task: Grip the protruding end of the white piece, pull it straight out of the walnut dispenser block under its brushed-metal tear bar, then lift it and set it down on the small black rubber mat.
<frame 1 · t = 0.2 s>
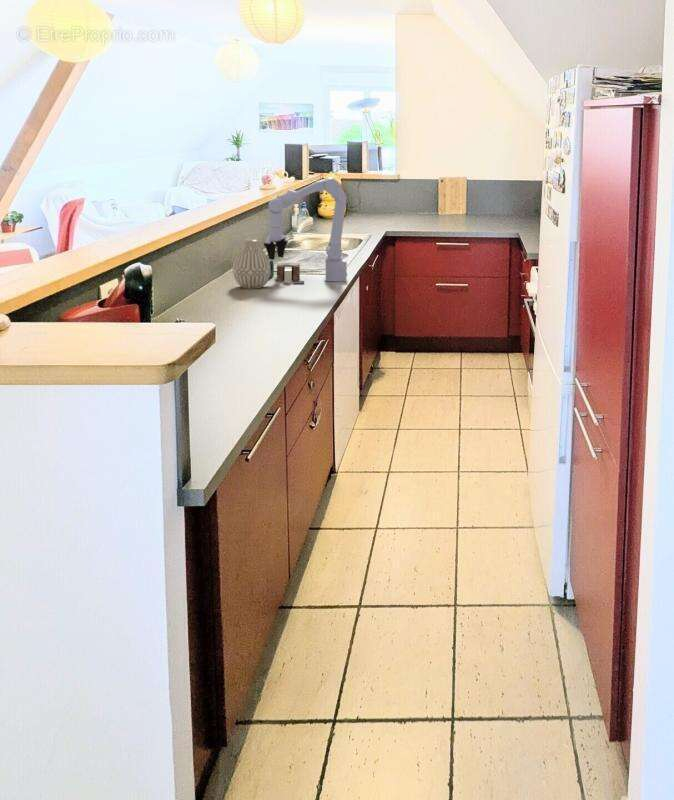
hand: (276, 258, 430), 10 cm above the worktop, fingers open, 7 cm apart
mat: (298, 283, 427), on the worktop
bracket: (260, 279, 436), on the worktop
white piece: (288, 280, 433), on the worktop
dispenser: (288, 278, 438), on the worktop
vase: (252, 287, 416), on the worktop
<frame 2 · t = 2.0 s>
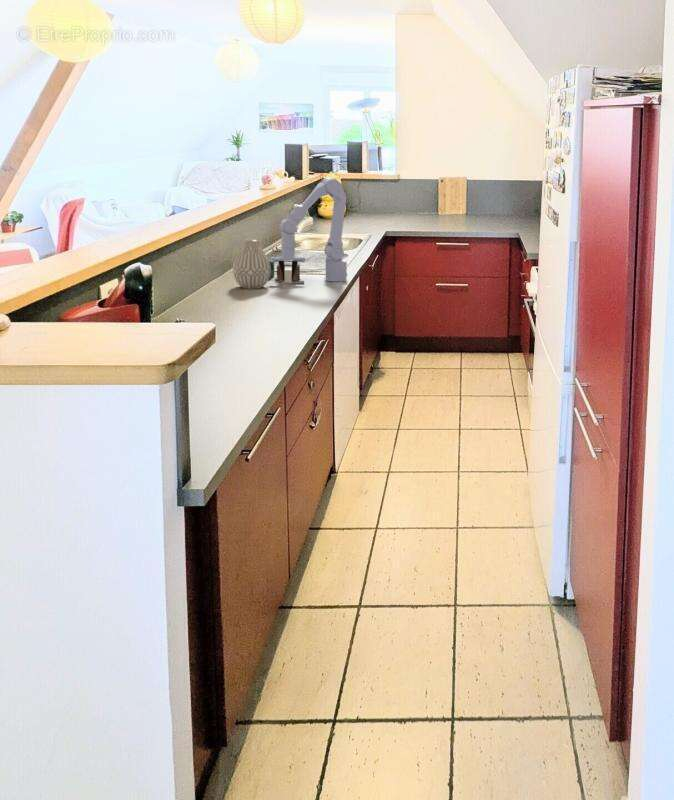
hand: (288, 278, 429), 1 cm above the worktop, fingers closed on white piece, 3 cm apart
white piece: (288, 280, 433), on the worktop, touching gripper
everything else where it was.
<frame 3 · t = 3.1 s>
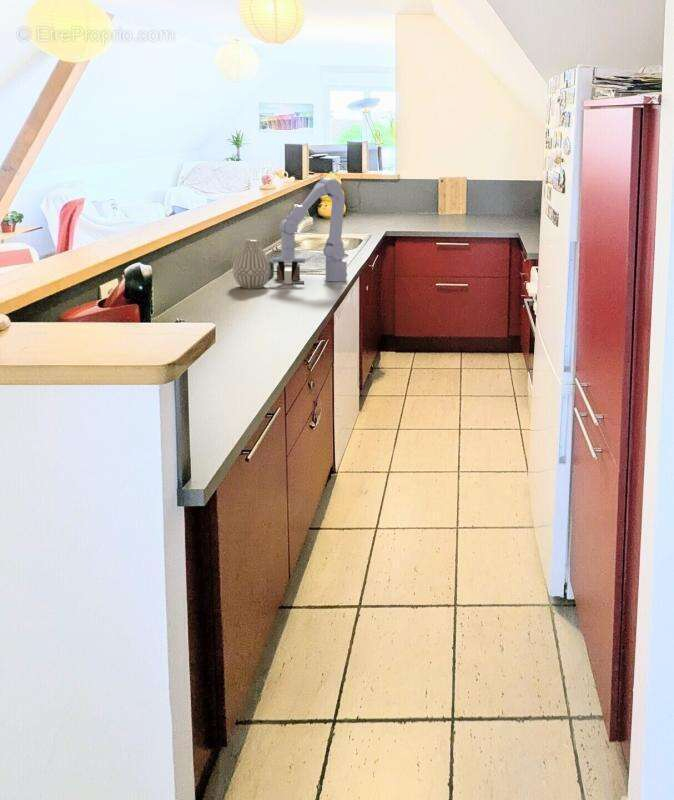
hand: (288, 279, 426), 2 cm above the worktop, fingers closed on white piece, 3 cm apart
white piece: (288, 281, 430), on the worktop, touching gripper
everything else where it was.
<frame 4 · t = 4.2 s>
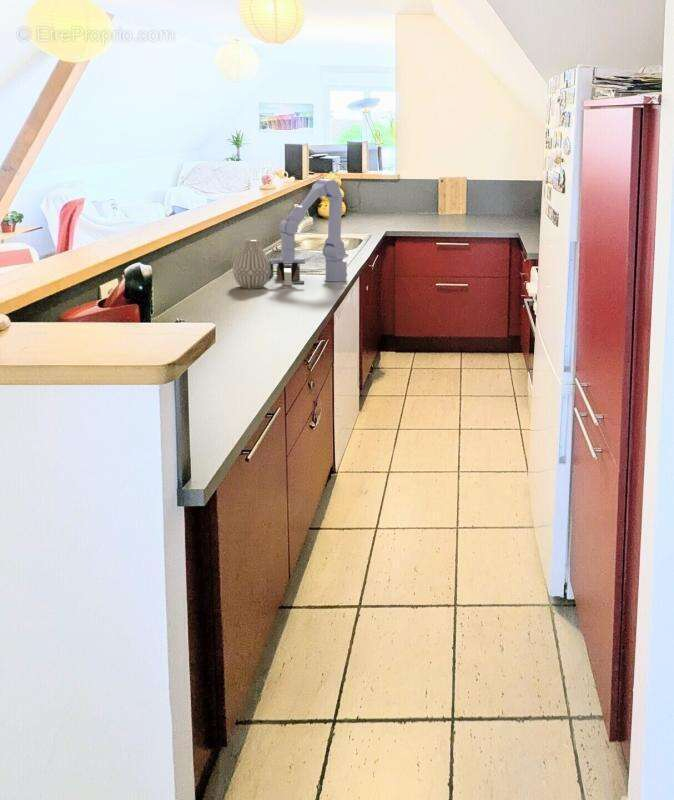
hand: (287, 280, 422), 2 cm above the worktop, fingers closed on white piece, 3 cm apart
white piece: (287, 283, 426), on the worktop, touching gripper
everything else where it was.
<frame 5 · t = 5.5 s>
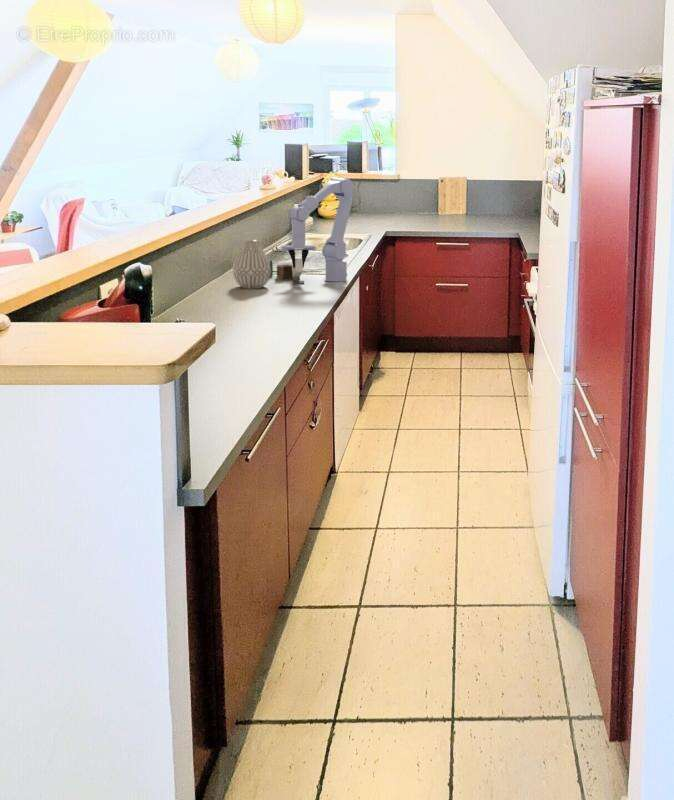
hand: (298, 267, 421), 7 cm above the worktop, fingers closed on white piece, 3 cm apart
white piece: (297, 274, 425), point 4 cm above the worktop, tilted 21°, touching gripper
everything else where it was.
when the fingers open (3 cm above the worktop, at t = 6.5 s): white piece stays where it is, resting on mat.
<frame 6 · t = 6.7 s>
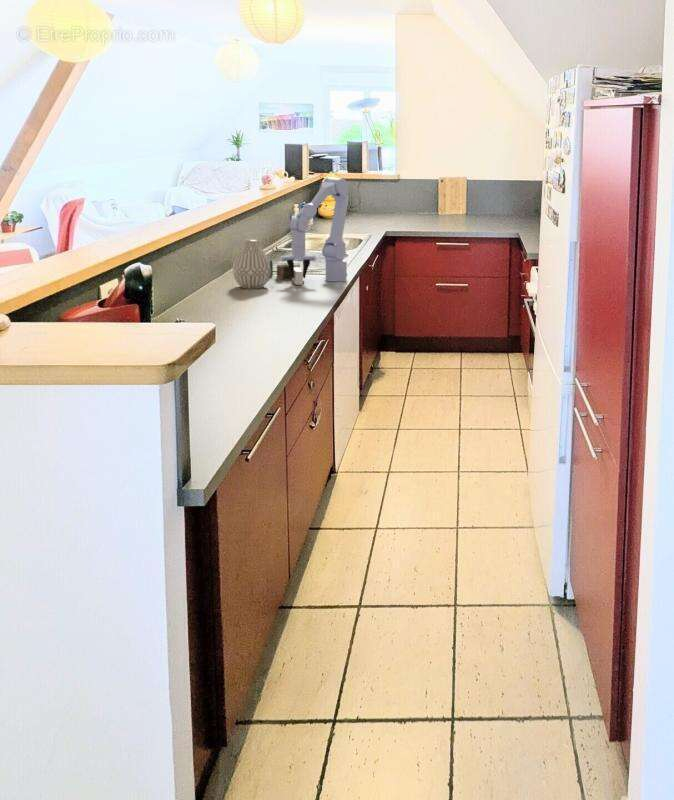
hand: (298, 277, 423), 3 cm above the worktop, fingers open, 4 cm apart
white piece: (297, 282, 426), resting on mat
everything else where it was.
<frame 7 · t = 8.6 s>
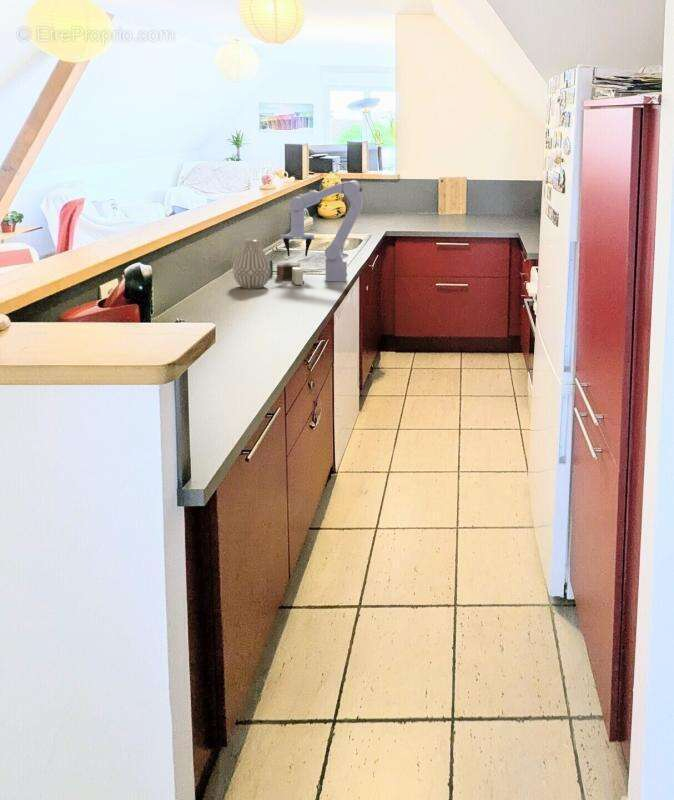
hand: (297, 255, 436), 10 cm above the worktop, fingers open, 7 cm apart
nothing on the worktop moved.
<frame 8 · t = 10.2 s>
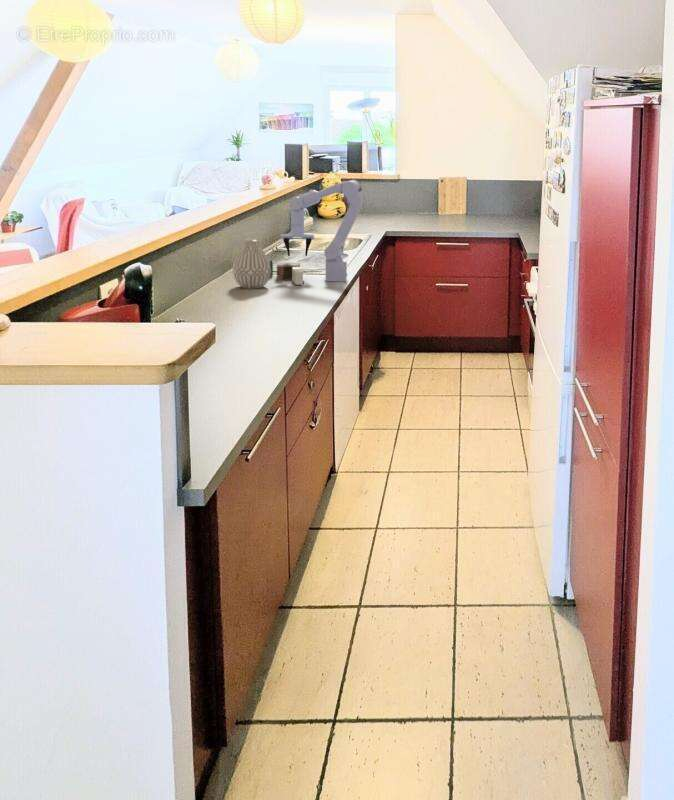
hand: (297, 255, 437), 10 cm above the worktop, fingers open, 7 cm apart
nothing on the worktop moved.
at the end: white piece inside the target area on the mat (0.7 cm from its centre), point 0.5 cm above the mat's base; white piece touching mat; the gripper is holding nothing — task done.
